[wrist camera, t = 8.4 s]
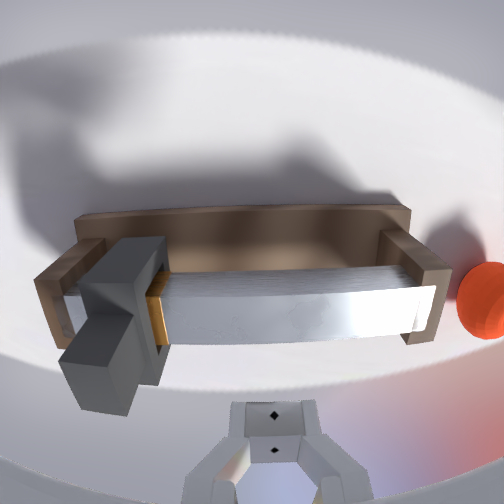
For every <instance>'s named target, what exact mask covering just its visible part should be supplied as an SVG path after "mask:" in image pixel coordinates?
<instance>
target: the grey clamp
mask: <svg viewBox="0 0 504 504" xmlns="http://www.w3.org/2000/svg"><path fill="white" fill-rule="evenodd" d="M161 271H170V267H169V259H168V252H167V244H166V236H154V237H131V238H121V239H120V240H119V241H118V242H117V243H116V244H115V245H114V246H113V247H112V248H111V249H110V250H109V251H108V252H107V253H106V254H105V255H104V256H103V257H102V258H101V259H100V260H99V261H98V262H97V263H96V264H95V265H94V266H93V267H92V269H91V270H90V271H89V272H88V273H87V274H86V275H85V276H84V277H83V278H82V279H81V280H80V281H79V282H78V286H79V290H80V294H81V297H82V301H83V304H84V308H85V311H86V314H87V318H88V319H87V320H86V321H85V323H84V324H83V326H82V327H81V328H80V330H79V331H78V333H77V334H76V336H75V337H74V338H73V340H72V341H71V343H70V344H69V346H68V347H67V349H66V350H65V352H64V353H63V355H62V356H61V358H60V359H59V361H58V362H59V365H60V367H61V369H62V371H63V373H64V376H65V378H66V380H67V382H68V384H69V386H70V388H71V390H72V392H73V394H74V396H75V398H76V400H77V402H78V404H79V406H80V408H81V409H82V410H87V411H93V412H99V413H105V414H112V415H119V416H127V415H128V412H129V409H130V407H131V404H132V401H133V398H134V395H135V393H136V390H137V387H138V384H140V385H154V386H158V385H159V381H160V378H161V375H162V372H163V368H164V365H165V362H166V359H167V355H168V352H169V349H170V346H171V344H169V345H156V344H155V339H154V335H153V331H152V326H151V321H150V317H149V312H148V307H147V302H146V297H145V293H146V291H147V289H148V287H149V285H150V284H151V282H152V280H153V278H154V277H155V275H156V273H157V272H161Z"/></svg>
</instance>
